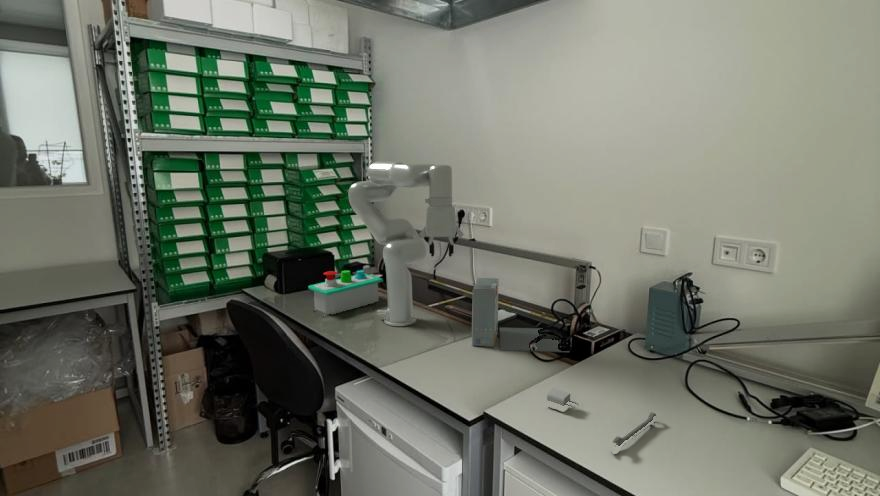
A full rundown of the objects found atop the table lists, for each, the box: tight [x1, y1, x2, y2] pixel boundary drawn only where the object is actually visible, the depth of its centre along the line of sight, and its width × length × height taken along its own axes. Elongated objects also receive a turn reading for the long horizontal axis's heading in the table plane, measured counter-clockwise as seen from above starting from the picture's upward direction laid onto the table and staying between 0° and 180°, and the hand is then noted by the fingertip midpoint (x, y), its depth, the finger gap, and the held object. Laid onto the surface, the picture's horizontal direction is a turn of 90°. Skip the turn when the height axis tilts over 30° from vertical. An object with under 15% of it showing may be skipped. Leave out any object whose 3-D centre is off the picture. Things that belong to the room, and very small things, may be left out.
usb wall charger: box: [546, 388, 579, 409], centre depth 116 cm, size 4×7×4 cm, turn 51°
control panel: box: [307, 269, 384, 315], centre depth 199 cm, size 15×16×30 cm
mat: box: [498, 326, 570, 353], centre depth 161 cm, size 22×20×1 cm
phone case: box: [498, 309, 518, 325], centre depth 181 cm, size 9×2×16 cm
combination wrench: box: [612, 412, 657, 446], centre depth 104 cm, size 4×1×20 cm
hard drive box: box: [471, 277, 500, 348], centre depth 161 cm, size 16×8×20 cm, turn 168°
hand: (441, 255), depth 158 cm, fingers open, 5 cm apart
